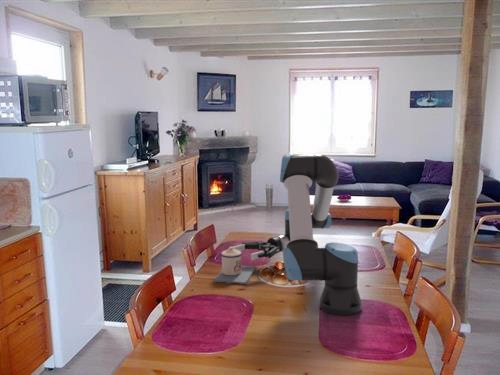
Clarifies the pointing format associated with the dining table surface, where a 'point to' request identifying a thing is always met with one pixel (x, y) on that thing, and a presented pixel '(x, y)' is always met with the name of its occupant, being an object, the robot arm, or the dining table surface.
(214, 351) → the dining table surface
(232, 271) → the teacup with lid
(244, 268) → the serving board
